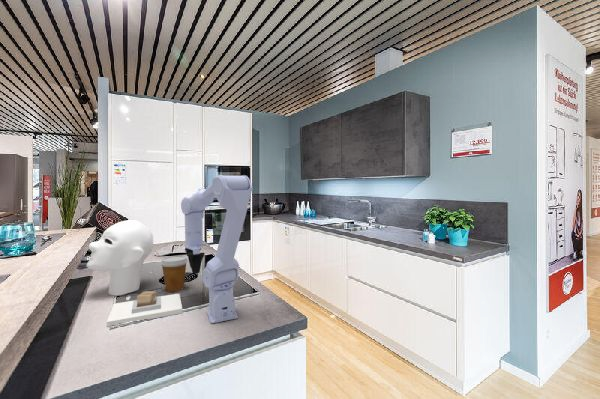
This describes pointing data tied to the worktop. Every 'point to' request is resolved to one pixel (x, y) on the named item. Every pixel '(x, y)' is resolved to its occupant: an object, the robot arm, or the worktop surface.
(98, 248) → the mannequin head
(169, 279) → the disposable coffee cup
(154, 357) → the worktop surface
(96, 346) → the worktop surface
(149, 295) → the oak cube
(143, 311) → the display stand
